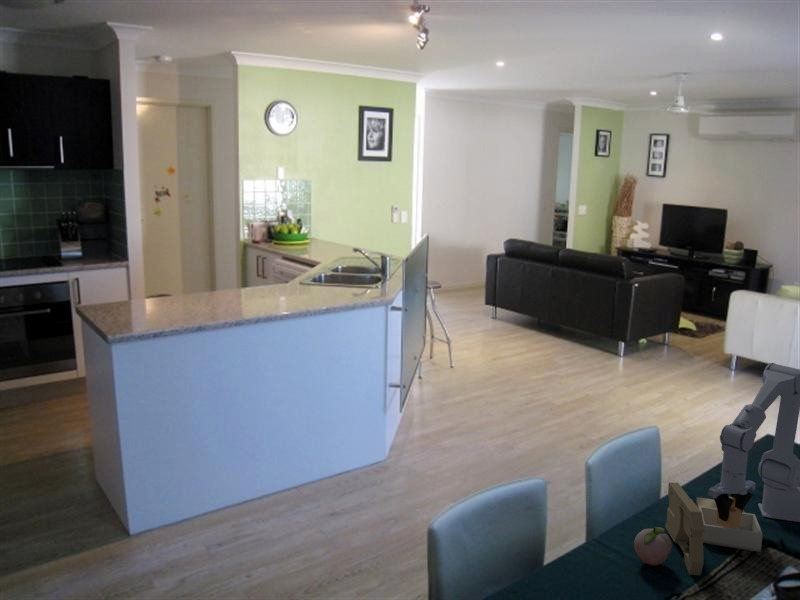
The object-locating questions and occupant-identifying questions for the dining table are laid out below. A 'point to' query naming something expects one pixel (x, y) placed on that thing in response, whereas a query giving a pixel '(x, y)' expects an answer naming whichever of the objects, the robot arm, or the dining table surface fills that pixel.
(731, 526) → the orange knobbed block
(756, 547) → the bin
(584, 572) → the dining table surface
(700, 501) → the stud board
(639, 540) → the decorative fruit
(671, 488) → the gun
